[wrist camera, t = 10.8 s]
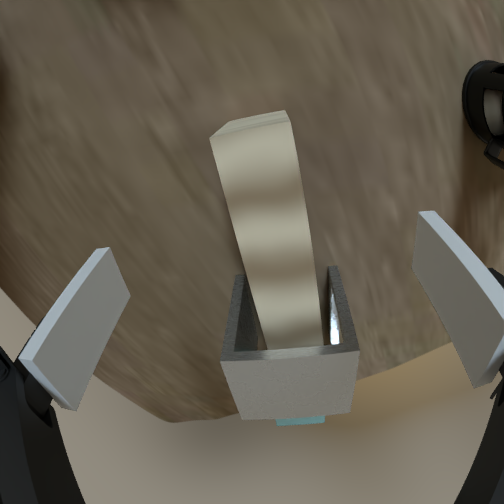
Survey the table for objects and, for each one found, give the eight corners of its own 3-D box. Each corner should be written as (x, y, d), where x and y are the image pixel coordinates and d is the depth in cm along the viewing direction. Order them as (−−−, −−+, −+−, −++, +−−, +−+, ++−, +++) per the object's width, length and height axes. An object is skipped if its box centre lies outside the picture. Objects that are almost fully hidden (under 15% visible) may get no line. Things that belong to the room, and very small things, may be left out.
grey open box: (336, 331, 37) (349, 412, 27) (250, 338, 39) (242, 419, 29) (337, 265, 32) (359, 350, 22) (235, 275, 34) (219, 361, 24)
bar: (317, 305, 36) (325, 365, 28) (275, 311, 36) (274, 371, 29) (284, 110, 25) (290, 121, 17) (228, 121, 26) (209, 138, 18)
